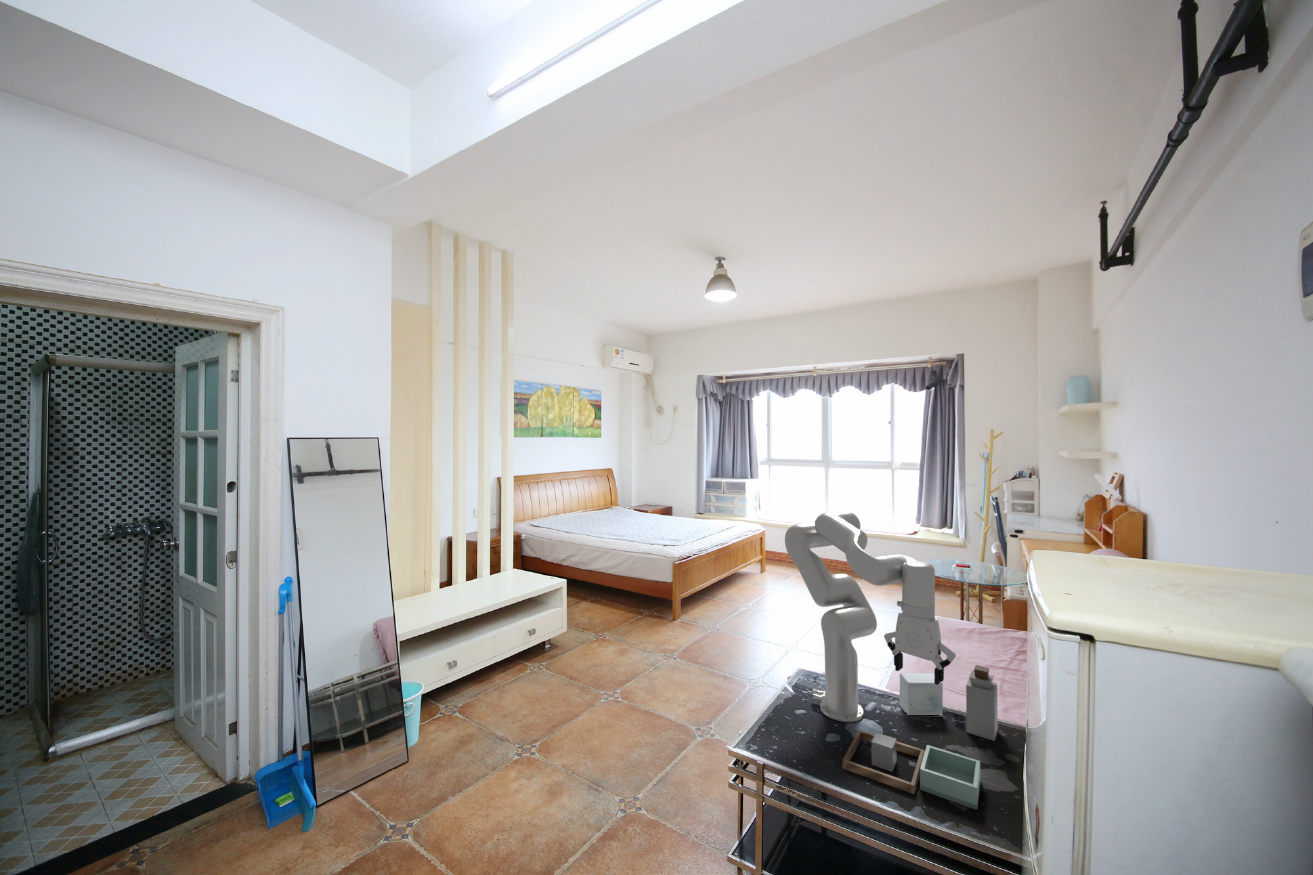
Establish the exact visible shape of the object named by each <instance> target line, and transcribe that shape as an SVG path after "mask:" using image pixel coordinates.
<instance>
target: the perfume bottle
mask: <svg viewBox="0 0 1313 875" xmlns="http://www.w3.org/2000/svg"><path fill="white" fill-rule="evenodd" d="M989 672H990V667H986V666H982V665H978V664H975V666H974V670H971V672H970V674H969V676H968V680H967V682H966V685H965V690H966V691H965V694H966V696H965V697H966V698H965V699H966V704H965V706H966V709H965V710H966V711H965V712H966V713H965V714H966V718H965V719H966V722H965V723H966V733H968V734H970V735H971V734H972V735H974V736H978V737H981V738H984V739H987V740H991V741H994V742H995V741H996V738H997V734H998V730H999V729H998V728H999V727H998V725H999V724H998V721H999V720H998V719H999V718H998V683H997V682H995V681H994V675H993V674H990V673H989Z"/></svg>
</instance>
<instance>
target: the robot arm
mask: <svg viewBox="0 0 1313 875" xmlns="http://www.w3.org/2000/svg"><path fill="white" fill-rule="evenodd" d="M784 545H785V549H786V552H787V554H788V556H789V558H790V560H791V561H792V563H793V564H794V565H795V567H796V569H797V570H798V572H799V573H800V575H801V578H802V580H803V582H804V584H805V586H806V588H807V590H808V592H809V594H810V596H811V597H812V600H813V601H814V603H815V604H816V605H817V606H818V607H822V608H828V607H829V608H830V607H833V606H834V607H835V606H840V605H842V606H840V607H837V608H836V607H835V608H832V609H829V610H827V611H826V612H825V613H823V615H822V616H821V619H820V626H821V632H822V637H823V644H824V690H819V689H818V688H817V689H816V688H812V690H811V694H812V696H813V700H817V701H820V704H819V707H820V711H821V712H822V714H824V715H825V716H826V717H827V718H830V719H832V720H835V721H839V722H842V723H853V722H858V721H860V720H861V719H862V718H863V717H864V708H863V707H862V706H861V705H860V704H859V680H858V679H859V674H858V672H859V669H858V666H859V665H858V653H857V650H856V649H855V647H854V646H853V642H852V641H853V640H855V639H859V638H863V637H868V636H871V635H873V634H874V633H875V632H876V630H877V627H878V622H877V617H876V614H875V613H874V609H872V607H871V605H870V603H869V601H868V599H867V598H866V596H865V593H864V592H863V590H862V589H861V586H860V585H859V584H858V582H857V581H856V579H855V578H854V577H853V576H851V575H849V574H847V573H833V574H832V573H831V572H829V569H828V568H827V566H826V564H825V562H824V561H823V560H822V558H821V557H820V556H818V554H816V553H815V552H813V551H812V550H811V549H815V548H823V547H824V548H825V547H830V546H834V547H836V548H837V549H838V550H840V551H841V552H842V553H843V554H845V559H846V561H847V564H848V566H849V567H850V569H851V571H852V572H853V573H855V574H856V575H857V576H858V577H859V578H861V579H863V580H864V581H865V582H867V583H869V584H872V585H874V586H877V587H882V586H883V587H884V586H888V585H895V584H901V585H902V586H901V590H902V591H901V595H902V596H901V600H897V601H896V606H897V607H900V608H901V609H900V611H898V615H897V618H896V619H897V620H896V626H895V631H892V632H886V633H885V634H884V635H883V638H884V640H885V642H886V644H887V645H886V646H887V647H888V649H890V651H891V654H892V655H893V666H894V667H895V671H896V672H899V671H900V670H902V669H903V668H904V655H903V654H906V655H910V656H913V657H916V658H919V659H923V660H926V661H931V662H932V663H933V664H934V666H935V668H934V673H933V674H934V683H935V684H936V685H938V684H939V683H941V682H942V683H943V682H944V679H945V668H947V667H948V666H949V665H950V664H952V662H953V661H954V660H955V658H956V655H957V654H956V653H955V652H954V651H953V650H951V649H950V648H948V647H947V646H946V645H944V644H943V643H942V639H941V630H940V624H939V620H938V617H936V614H935V613H936V611H935V609H936V595H935V594H936V588H935V587H936V570H935V568H934V566H933V564H931V563H929V562H926V561H922V560H916V559H914V558H912V557H910V556H909V555H905V554H902V553H897V554H896V553H895V554H888V555H880V556H873V555H872V554H870V553H869V552H867V551H865V549H866V547H867V545H868V535H867V534H866V533H865V531H864V530H862V529H861V522H860V519H859V518H858V516H857V515H856V514H855V513H853V512H851V511H848V510H839V511H838V510H837V511H828V512H823V513H821V514H819V515H818V516H817V517H816V518H815V520H814V521H812V522H811V521H810V522H801V523H797V524H794V525H792V526H790V527H788V529H787V530H786V531H785V535H784ZM893 639H894V641H893ZM942 653H943V654H944V655H946V658H945V659H943V658H942V656H941V655H942Z"/></svg>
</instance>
